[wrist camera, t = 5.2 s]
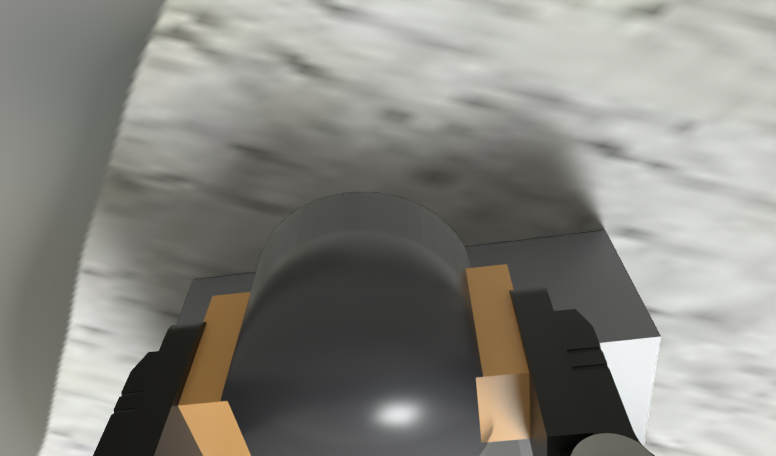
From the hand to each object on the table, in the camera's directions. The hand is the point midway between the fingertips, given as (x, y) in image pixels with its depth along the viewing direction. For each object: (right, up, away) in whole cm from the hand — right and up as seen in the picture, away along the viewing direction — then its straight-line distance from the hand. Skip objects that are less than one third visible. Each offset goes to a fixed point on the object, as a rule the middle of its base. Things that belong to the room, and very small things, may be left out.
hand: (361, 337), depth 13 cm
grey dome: (0, +1, +1) cm, 2 cm away
